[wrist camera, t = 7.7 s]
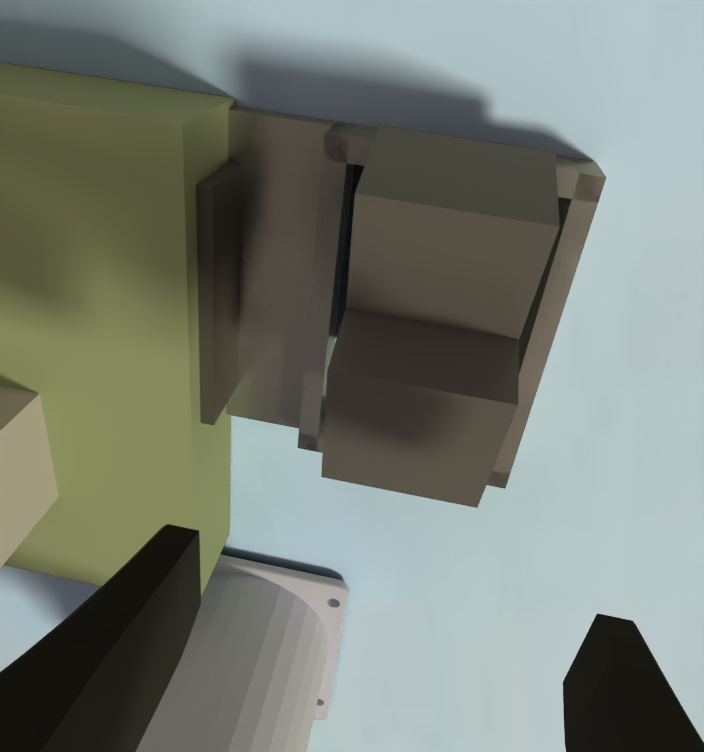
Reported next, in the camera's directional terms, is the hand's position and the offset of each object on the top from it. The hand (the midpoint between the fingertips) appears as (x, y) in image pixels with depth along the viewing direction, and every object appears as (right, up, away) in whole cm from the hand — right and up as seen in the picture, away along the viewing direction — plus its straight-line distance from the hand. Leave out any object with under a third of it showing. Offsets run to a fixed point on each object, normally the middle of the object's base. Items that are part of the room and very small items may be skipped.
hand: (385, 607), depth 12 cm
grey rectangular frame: (0, +6, +7) cm, 10 cm away
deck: (-10, +6, +10) cm, 15 cm away
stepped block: (+2, +7, +5) cm, 9 cm away
